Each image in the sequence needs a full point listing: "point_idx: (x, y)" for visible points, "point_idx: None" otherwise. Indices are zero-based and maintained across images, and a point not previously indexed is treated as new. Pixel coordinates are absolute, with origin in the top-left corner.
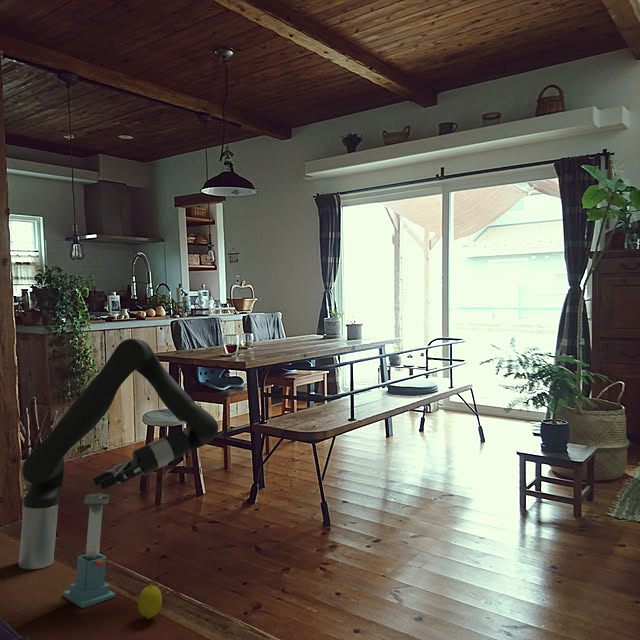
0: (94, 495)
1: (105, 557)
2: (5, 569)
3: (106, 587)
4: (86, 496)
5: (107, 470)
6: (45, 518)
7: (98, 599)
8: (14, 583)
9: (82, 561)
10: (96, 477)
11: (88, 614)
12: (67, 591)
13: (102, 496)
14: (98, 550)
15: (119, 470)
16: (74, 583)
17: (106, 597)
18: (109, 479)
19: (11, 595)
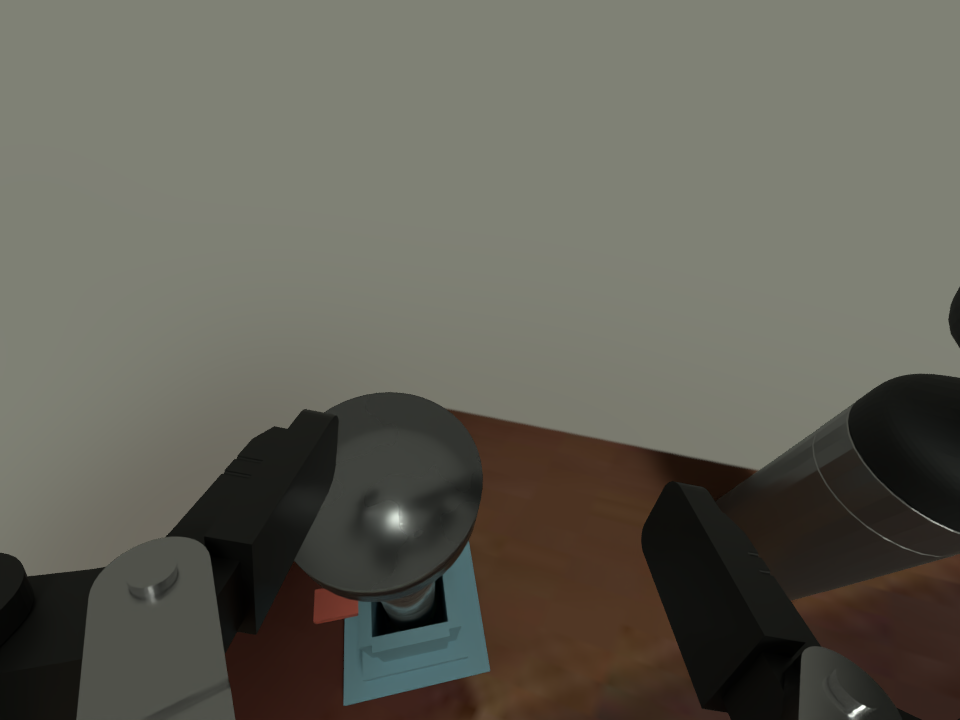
0: (418, 467)
1: (367, 645)
2: (723, 463)
3: (362, 664)
4: (420, 409)
5: (836, 680)
6: (824, 482)
7: (345, 623)
8: (613, 459)
9: None
10: (687, 506)
11: (294, 567)
12: (463, 551)
13: (342, 513)
14: (381, 602)
15: (161, 715)
16: (454, 562)
17: (344, 659)
18: (233, 492)
19: (536, 437)
